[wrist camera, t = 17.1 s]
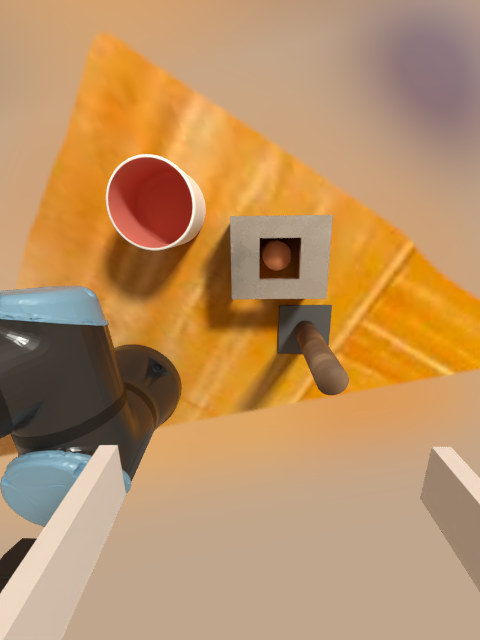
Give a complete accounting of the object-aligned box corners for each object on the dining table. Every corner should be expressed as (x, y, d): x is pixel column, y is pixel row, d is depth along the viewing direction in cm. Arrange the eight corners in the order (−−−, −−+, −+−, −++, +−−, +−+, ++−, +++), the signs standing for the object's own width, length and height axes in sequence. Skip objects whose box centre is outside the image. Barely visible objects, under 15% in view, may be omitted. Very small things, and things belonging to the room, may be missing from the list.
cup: (216, 186, 41) (207, 174, 32) (194, 255, 44) (180, 263, 35) (147, 159, 40) (116, 138, 31) (130, 231, 43) (97, 232, 34)
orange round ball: (261, 266, 44) (262, 270, 40) (261, 240, 43) (263, 241, 39) (286, 265, 44) (290, 270, 40) (287, 239, 43) (291, 241, 39)
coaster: (278, 352, 49) (278, 353, 48) (279, 305, 46) (279, 306, 46) (327, 352, 48) (327, 353, 48) (331, 305, 46) (331, 305, 46)
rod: (293, 340, 47) (315, 395, 32) (294, 320, 46) (317, 367, 31) (314, 340, 47) (347, 395, 32) (316, 320, 46) (350, 367, 31)
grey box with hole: (234, 286, 45) (231, 299, 38) (233, 218, 42) (229, 216, 35) (312, 286, 45) (326, 298, 37) (317, 216, 42) (332, 214, 34)
